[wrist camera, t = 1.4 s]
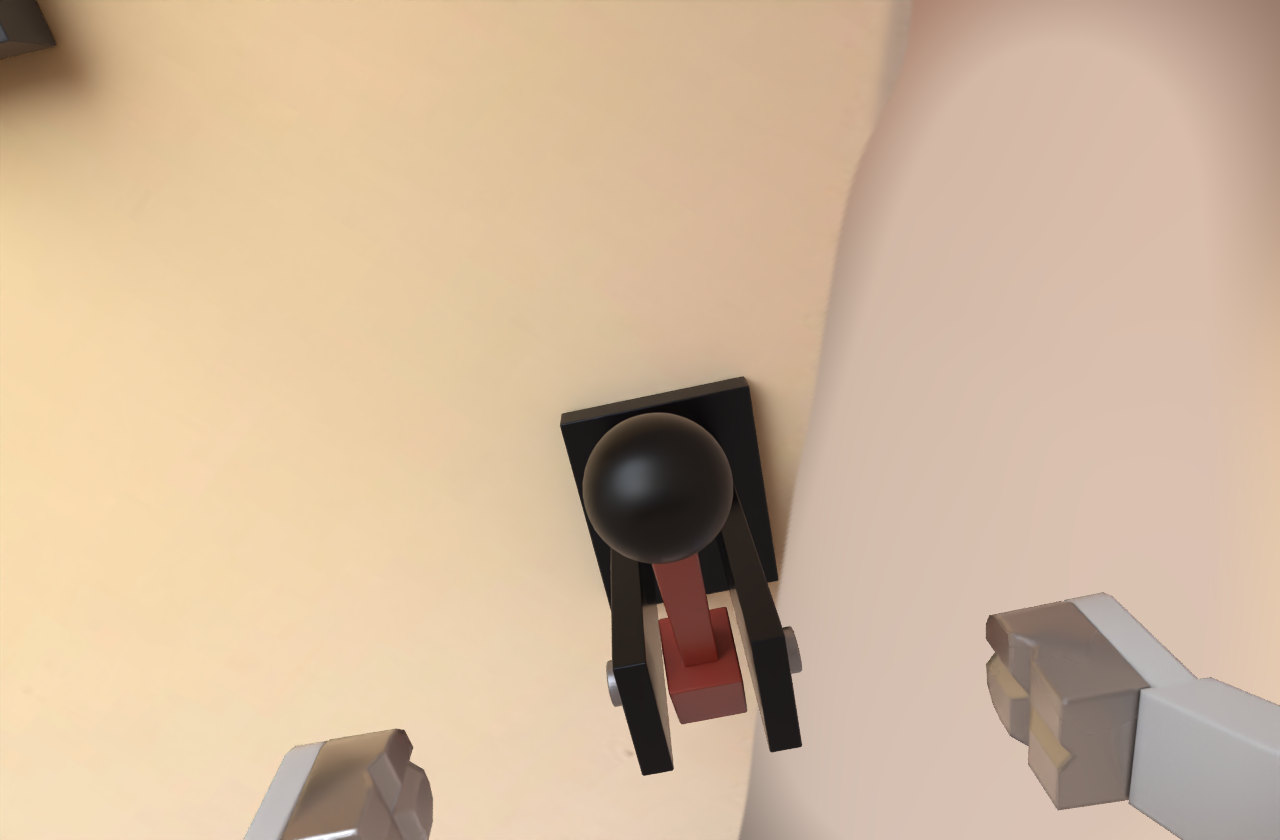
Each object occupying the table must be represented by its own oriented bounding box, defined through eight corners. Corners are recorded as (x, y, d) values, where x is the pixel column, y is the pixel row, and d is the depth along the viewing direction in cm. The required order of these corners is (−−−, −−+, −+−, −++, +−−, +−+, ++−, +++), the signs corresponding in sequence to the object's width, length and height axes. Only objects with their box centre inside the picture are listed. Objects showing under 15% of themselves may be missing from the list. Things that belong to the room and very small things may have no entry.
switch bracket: (561, 413, 31) (534, 601, 19) (743, 375, 31) (828, 543, 19) (611, 597, 35) (614, 844, 24) (773, 566, 35) (858, 800, 23)
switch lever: (562, 398, 15) (571, 525, 13) (710, 368, 15) (744, 491, 13) (653, 645, 25) (667, 740, 23) (744, 628, 25) (766, 722, 23)
